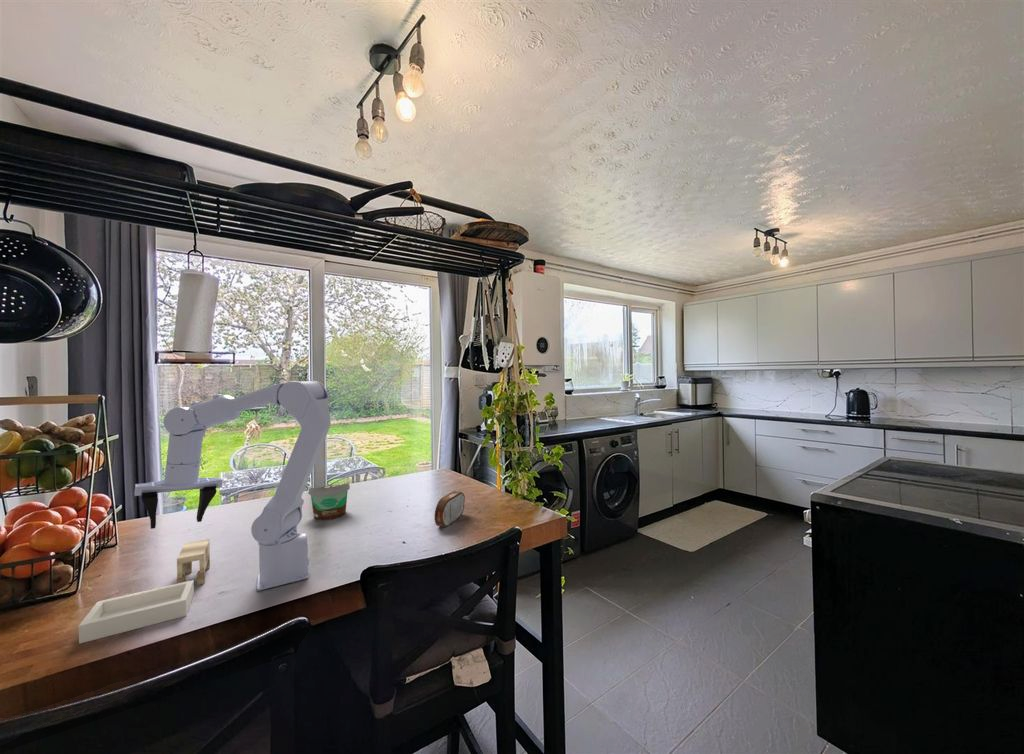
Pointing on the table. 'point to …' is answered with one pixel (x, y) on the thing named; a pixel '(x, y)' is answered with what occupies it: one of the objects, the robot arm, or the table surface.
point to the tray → (136, 611)
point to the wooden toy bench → (193, 553)
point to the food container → (329, 501)
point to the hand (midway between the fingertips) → (176, 523)
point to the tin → (449, 508)
